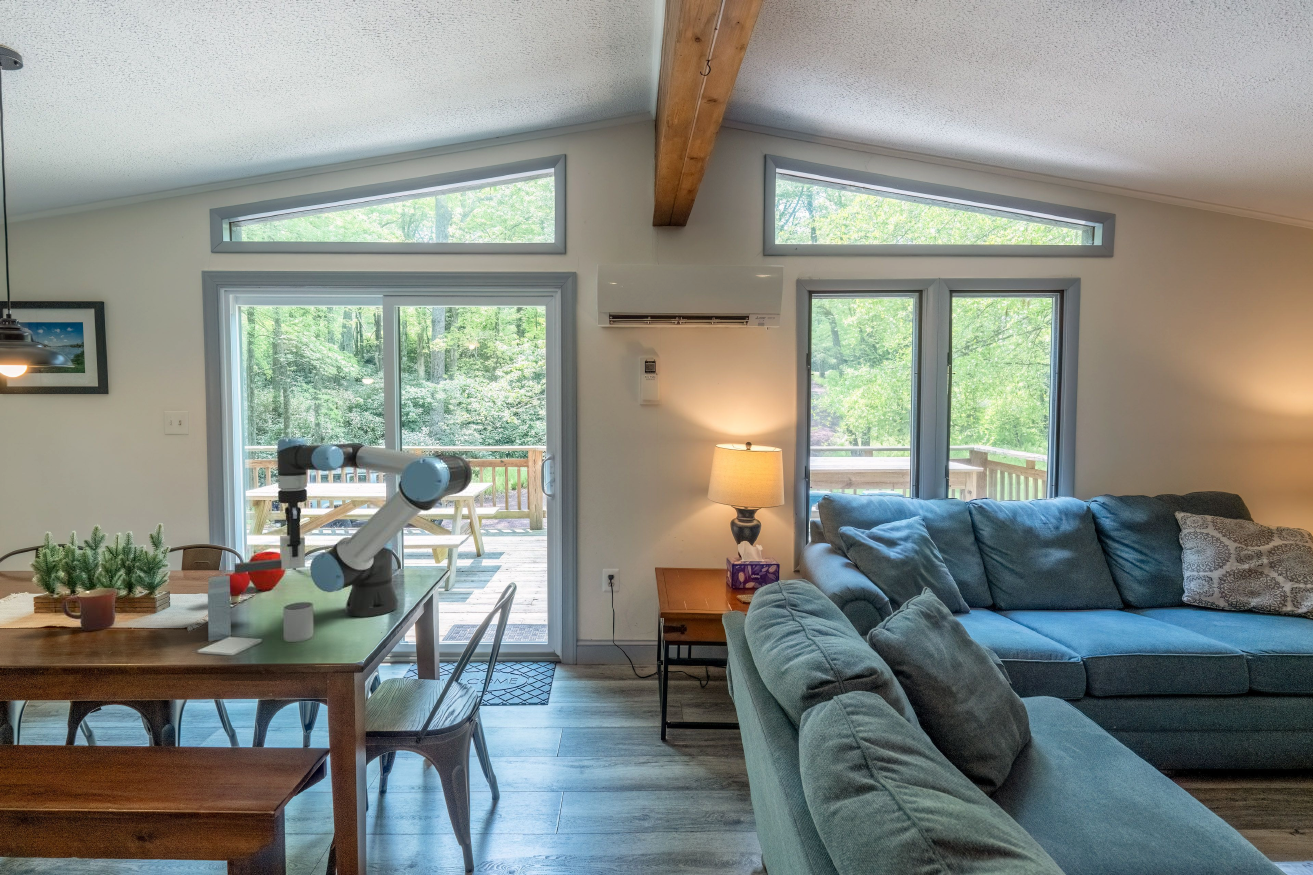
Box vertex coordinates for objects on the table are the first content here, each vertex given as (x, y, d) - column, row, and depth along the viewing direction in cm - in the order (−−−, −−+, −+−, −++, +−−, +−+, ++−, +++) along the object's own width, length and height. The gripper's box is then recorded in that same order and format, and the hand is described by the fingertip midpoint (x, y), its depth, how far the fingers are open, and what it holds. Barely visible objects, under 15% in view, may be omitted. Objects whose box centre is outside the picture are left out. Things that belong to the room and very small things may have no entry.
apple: (293, 587, 222) (293, 550, 221) (257, 596, 212) (257, 556, 211) (276, 582, 228) (275, 546, 228) (240, 590, 218) (240, 552, 218)
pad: (261, 641, 171) (261, 639, 171) (232, 655, 161) (231, 653, 161) (229, 638, 172) (229, 636, 172) (197, 652, 162) (197, 650, 162)
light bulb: (232, 608, 199) (231, 577, 198) (213, 606, 200) (213, 575, 200) (256, 599, 208) (256, 569, 207) (238, 598, 209) (238, 568, 209)
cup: (281, 643, 169) (281, 611, 169) (287, 631, 178) (287, 600, 178) (311, 640, 172) (311, 608, 172) (316, 628, 181) (315, 598, 181)
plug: (234, 574, 179) (234, 543, 179) (234, 570, 184) (234, 539, 183) (304, 567, 189) (304, 537, 189) (302, 563, 194) (302, 534, 193)
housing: (230, 617, 190) (229, 575, 189) (230, 637, 173) (230, 591, 173) (210, 620, 187) (209, 577, 186) (208, 641, 170) (207, 594, 170)
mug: (122, 620, 186) (121, 586, 186) (113, 630, 178) (112, 594, 178) (69, 626, 180) (68, 591, 180) (57, 636, 173) (56, 599, 172)
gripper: (275, 486, 195) (277, 560, 195) (280, 493, 179) (281, 573, 180) (303, 485, 199) (304, 557, 200) (310, 491, 183) (311, 569, 184)
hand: (293, 564), depth 190 cm, fingers closed on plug, 6 cm apart
